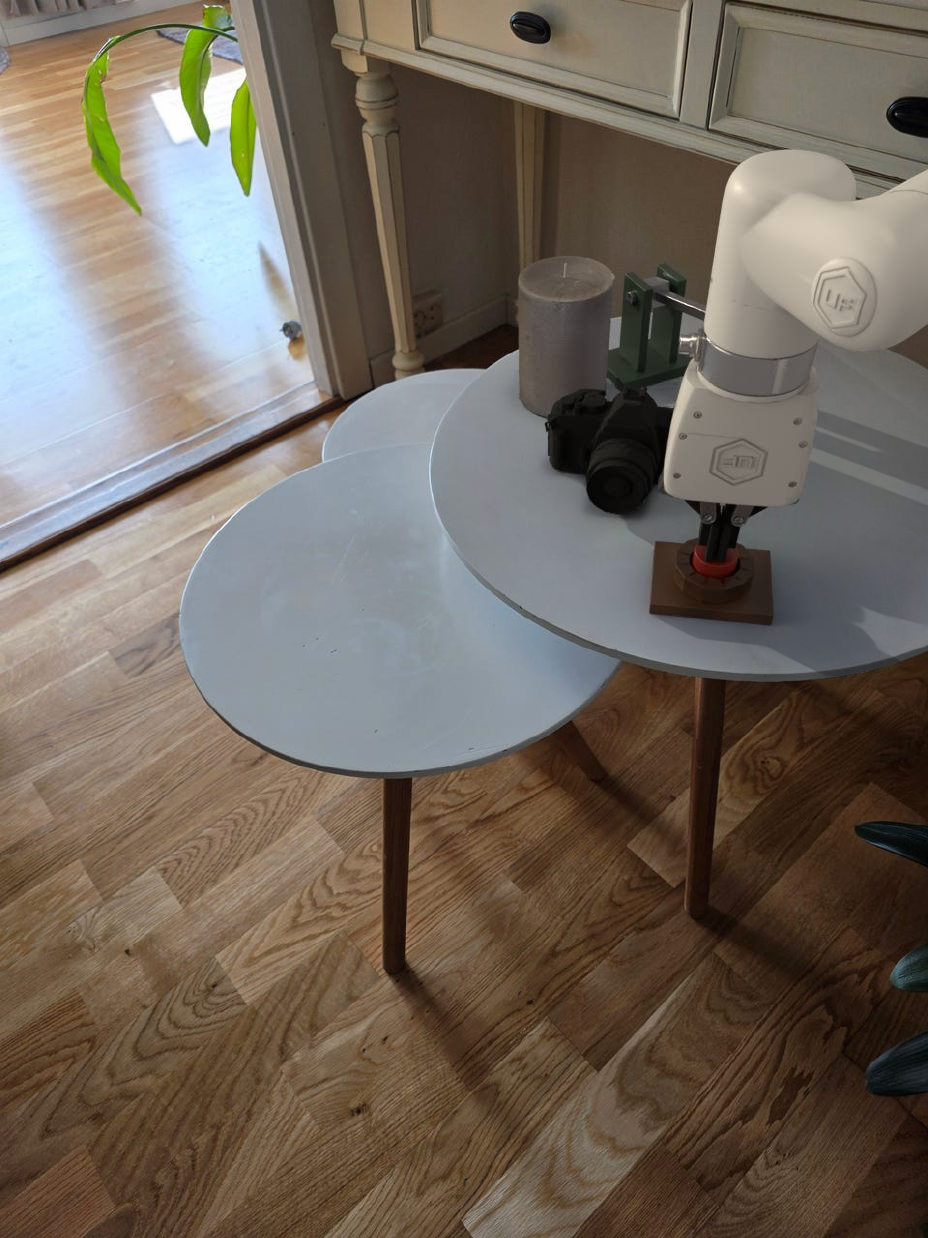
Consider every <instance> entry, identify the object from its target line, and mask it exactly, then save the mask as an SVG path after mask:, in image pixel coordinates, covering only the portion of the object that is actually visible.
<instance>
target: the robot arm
mask: <svg viewBox="0 0 928 1238" xmlns="http://www.w3.org/2000/svg"><path fill="white" fill-rule="evenodd" d="M856 199H857V181H856V178H855V176H854V174H853V171H852V170H851V169H850V168H849V167H848V166H847V165H846V164H845V162H843V161H841V160H840V159H839V158H836V157H834V156H831V155H828V154H825V153H822V152H821V153H820V152H818V151H814V150H805V149H791V148H790V149H777V150H771V151H765V152H761V153H757V154H754V155H752V156H751V157H749V158H747V159H745V160H744V161H742V162H741V163H740V164H739V165H738V166H736V168H735V169H734V170H733V171H732V172H731V174H730V176H729V178H728V180H727V182H726V185H725V189H724V194H723V199H722V204H721V211H720V215H719V223H718V230H717V236H716V242H715V250H714V256H713V262H712V267H711V274H710V281H709V287H708V293H707V300H706V305H705V306H706V313H705V319H704V321H702V327H701V328H697V332H691V334H682V333H680V337H679V351H678V354H682V355H689V357H694V358H693V359H692V360H691V361H690V363H689V365H688V368H687V370H686V372H685V375H683V377H682V380H681V383H680V387H679V389H678V390H679V391H678V394H677V397H676V401H675V404H674V406H675V407H674V406H673V407H674V412H673V416H672V421H671V425H670V430H669V435H668V441H667V448H666V456H665V465H664V469H663V471H662V473H661V475H660V477H659V481H658V484H657V491H658V493H659V494H661V495H663V496H667V497H670V498H675V499H676V500H677V499H678V500H684V502H685V503H686V504H687V505H688V506H689V507H690V508H691V509H692V510H694V511H695V512H696V513H697V514H698V515H699V517H700V524H699V529H698V536H697V538H698V545H699V546H705V561H712V560H714V559H715V554H716V560H718V562H724V563H725V560H726V555H727V551H728V548H733V549H735V548H736V544H737V543H738V539H739V536H740V530H741V527H743V526H745V525H747V522H748V520H749V519H750V518H752V517H754V516H755V515H757V514H759V513H761V512H763V511H764V510H766V509H767V508H775V507H776V508H780V507H786V506H792V505H796V504H798V503H799V502H800V497H801V495H802V492H803V489H804V486H805V483H806V478H807V475H808V474H807V473H808V469H809V465H810V460H811V454H812V451H813V446H814V440H815V436H816V431H817V430H816V429H817V423H818V417H819V409H820V408H819V406H820V395H821V383H820V379H819V375H818V373H817V372H818V371H817V370H816V368H815V367H814V366H813V364H814V359H815V356H816V352H817V348H818V345H819V341H820V337H821V338H822V339H824V340H826V341H827V342H829V343H831V344H832V345H834V346H836V347H839V348H841V349H845V350H847V351H851V352H856V353H875V352H880V351H884V350H887V349H889V348H892V347H895V346H896V345H898V344H901V343H902V342H904V341H906V340H908V338H910V337H911V336H913V335H914V334H917V332H918V331H920V330H921V329H923V328H924V327H926V326H927V325H928V169H926V170H924V171H922V172H920V173H918V174H916V175H914V176H912V177H910V178H909V179H906V180H905V181H903V182H902V183H899V184H897V185H896V186H894V187H893V188H891V189H888V190H887V191H885V192H883V193H882V194H880V195H879V194H878V195H875V196H871V197H866V198H862V199H859V200H858V199H857V200H856ZM722 504H724V505H722Z"/></svg>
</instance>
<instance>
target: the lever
mask: <svg viewBox="0 0 928 1238" xmlns="http://www.w3.org/2000/svg"><path fill="white" fill-rule="evenodd" d="M642 280H643V281H645V282H646V283H647V284H648V285H649V286H651V287H652V288H653V295H652V305H651V310H653V308H657V307H661V306H665V305H667V306H669V307H672V308H674V309H676V310H679V311H681V312H683V313H682V314H686V315H688V316H690V317H692V318H695V319H698V320H700V321H702V322H703V321H704V319H705V313H706V306H707V305H705V304H702V303H700V302H697V301H695V300H692V299H690V298H687V297H682V296H680V295H677V294H675V293H672V292H670V291H669V281H667V280H664V279H662V278H659V277H656V276H652V277H648V278H644V279H642Z"/></svg>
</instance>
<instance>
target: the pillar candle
mask: <svg viewBox="0 0 928 1238" xmlns="http://www.w3.org/2000/svg"><path fill="white" fill-rule="evenodd" d="M615 278H616V275H615V274H614V273H612V270H611V269H610V268H609V267H608V266H607V265H605V264H604V263H602V262H600V261H598V260H595V259H593V258H589V257H584V256H575V255H568V256H567V255H562V256H554V257H553V256H552V257H549V258H548V257H547V258H543V259H540V260H537V261H535V262H532V263H531V264H529V265H528V266H526V267H525V268H523V270H521V272H520V273H519V276H518V279H517V280H518V281H517V282H518V283H517V285H518V287H517V288H518V289H517V290H518V293H517V294H518V379H519V380H518V386H519V391H518V393H519V399H520V402H521V404H522V405H523V406H524V407H525V408H526V409H528V410H529V411H530V412H532V413H534V414H535V415H539V416H542V417H546V418H548V415H549V414H550V413H551V409H552V406H553V405H554V403H555V402H556V401H558V400H560V399H561V398H562V397H564V396H566V395H569V394H572V393H574V392H576V391H578V390H579V389H599V390H605V392H606V393H607V382H608V377H607V366H608V352H609V350H610V337H611V336H610V334H611V322H612V320H611V318H612V317H611V316H612V304H613V290H614V281H615V280H616V279H615ZM604 397H605V398H606V395H605V396H604Z"/></svg>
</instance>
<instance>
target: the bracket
mask: <svg viewBox="0 0 928 1238" xmlns="http://www.w3.org/2000/svg"><path fill="white" fill-rule="evenodd" d="M656 277H659V278H662V279H664V280H667V281H669V291H670V292H672V293H675V294H677V295H680V296H682V297H685V296H686V290H687V289H686V288H687V278H685V277H684V276H683V275H682V274H681V273H679V272H678V271H676V270H675V269H674V268H672V266H670V265H669V264H667V263H666V262H664V263H661V264H657V266H656ZM623 278H624V279H623V293H622V305H621V306H622V307H621V319H620V320H621V321H620V333H619V347H615V348H612V349H609V352H608V366H607V379H609V381H611V383H613V385H614V386H615V387H616V388H617V389H618V390H619V391H620V393H621V392H622V391H623V389H624V386H625V385H628V387H632V388H641V389H642V388H643V387H648V386H650V385H651V386H652V385H655V384H657V383H661V382H664V381H668V380H672V379H675V378H678V377H682V376H684V375H685V372H686V370H687V368H688V365H689V363H690V361H691V360H692V359H693V358H694V357H689V355H682V354H678V351H679V342H680V335H681V327H682V320H683V314H684V313H683V312H681V311H679V310H676V309H674V308H672V307H669V306H667V305H665V306H661V307H657V308H653V309H651V305H652V295H653V288H652V287H651V286H649V285H648V284H647V283H646V282H645V281H643V280H644V279H642V278H641V277H640V276H639V275H637V274H636V273H635V272H634V271H630V272H629V271H628V272H626V273H624V277H623ZM685 298H686V297H685ZM651 314H652V316H651ZM650 325H651V327H650ZM649 333H650V337H649Z"/></svg>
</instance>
